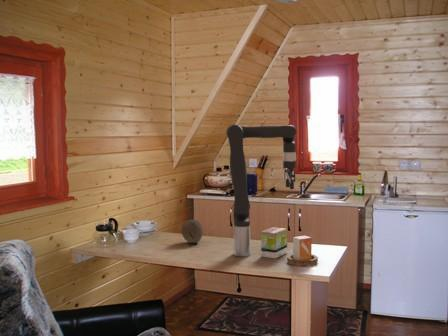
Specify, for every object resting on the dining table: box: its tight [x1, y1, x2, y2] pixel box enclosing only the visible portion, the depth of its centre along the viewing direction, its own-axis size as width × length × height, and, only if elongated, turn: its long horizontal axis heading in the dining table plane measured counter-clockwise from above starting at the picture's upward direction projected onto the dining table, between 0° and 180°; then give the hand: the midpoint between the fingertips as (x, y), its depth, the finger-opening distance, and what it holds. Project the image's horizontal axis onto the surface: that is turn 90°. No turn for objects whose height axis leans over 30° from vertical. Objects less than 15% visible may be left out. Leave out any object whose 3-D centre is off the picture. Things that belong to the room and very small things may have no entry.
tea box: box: [260, 226, 288, 260], centre depth 283 cm, size 15×10×15 cm, turn 148°
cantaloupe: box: [181, 219, 204, 244], centre depth 315 cm, size 14×14×15 cm
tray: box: [286, 253, 319, 267], centre depth 268 cm, size 16×16×3 cm
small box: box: [292, 235, 313, 260], centre depth 267 cm, size 8×6×13 cm
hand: (289, 188), depth 284 cm, fingers open, 8 cm apart
